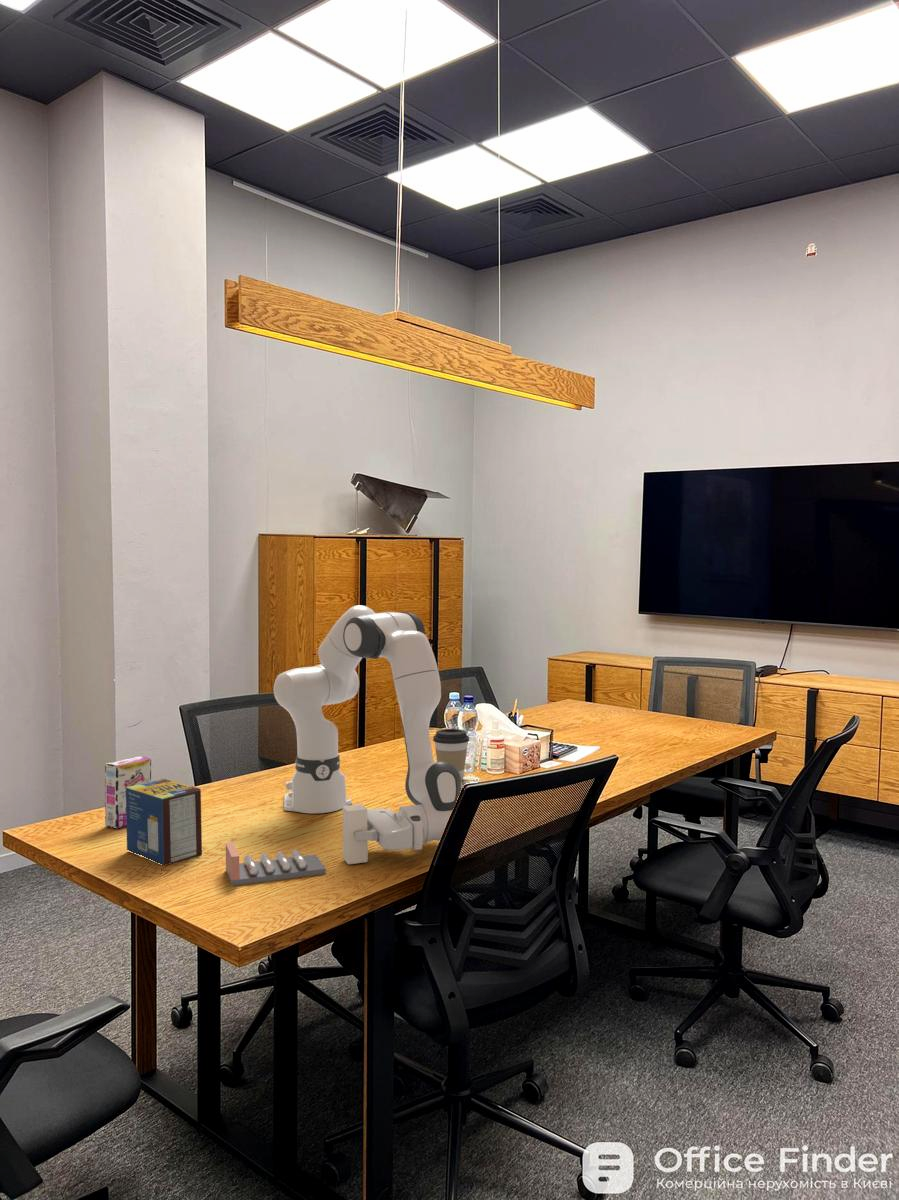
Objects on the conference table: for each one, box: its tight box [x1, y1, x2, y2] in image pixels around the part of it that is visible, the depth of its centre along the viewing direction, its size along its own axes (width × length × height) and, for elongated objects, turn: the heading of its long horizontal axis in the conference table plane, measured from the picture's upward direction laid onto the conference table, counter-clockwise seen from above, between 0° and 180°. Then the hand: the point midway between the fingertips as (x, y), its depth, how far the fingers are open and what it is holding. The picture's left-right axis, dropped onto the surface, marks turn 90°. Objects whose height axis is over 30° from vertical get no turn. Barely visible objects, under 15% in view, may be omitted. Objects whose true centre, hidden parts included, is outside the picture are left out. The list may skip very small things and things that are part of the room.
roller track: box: [225, 841, 327, 887], centre depth 196 cm, size 10×20×6 cm, turn 111°
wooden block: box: [342, 803, 369, 865], centre depth 203 cm, size 4×4×12 cm
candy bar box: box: [104, 756, 152, 830], centre depth 232 cm, size 11×5×16 cm, turn 149°
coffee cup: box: [432, 728, 470, 782], centre depth 277 cm, size 11×11×15 cm
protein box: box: [126, 778, 203, 866], centre depth 209 cm, size 10×15×16 cm
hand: (351, 831), depth 202 cm, fingers closed on wooden block, 4 cm apart
